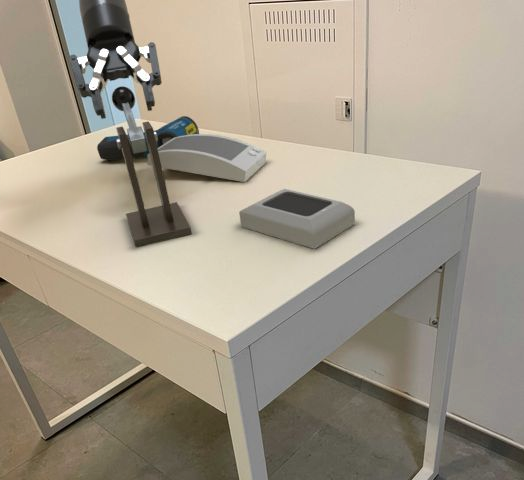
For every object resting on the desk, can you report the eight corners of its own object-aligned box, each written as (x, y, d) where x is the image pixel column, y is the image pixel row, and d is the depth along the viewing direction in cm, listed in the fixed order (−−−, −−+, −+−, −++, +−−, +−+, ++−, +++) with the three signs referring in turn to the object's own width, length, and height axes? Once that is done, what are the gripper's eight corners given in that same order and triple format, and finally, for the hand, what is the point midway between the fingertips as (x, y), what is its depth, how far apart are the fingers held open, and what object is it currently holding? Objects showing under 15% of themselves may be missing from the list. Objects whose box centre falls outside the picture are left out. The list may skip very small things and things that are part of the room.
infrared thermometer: (130, 149, 133) (203, 143, 126) (100, 168, 123) (178, 162, 116) (121, 122, 129) (197, 114, 122) (91, 139, 120) (170, 132, 112)
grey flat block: (279, 183, 90) (354, 200, 81) (281, 205, 92) (354, 224, 83) (238, 204, 85) (313, 224, 76) (241, 226, 87) (314, 249, 78)
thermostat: (247, 183, 103) (243, 152, 99) (151, 179, 110) (144, 150, 107) (267, 163, 111) (264, 134, 107) (177, 160, 118) (171, 133, 115)
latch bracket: (127, 219, 94) (101, 124, 85) (178, 208, 96) (157, 113, 87) (135, 247, 85) (107, 143, 76) (191, 233, 87) (170, 130, 77)
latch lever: (112, 104, 89) (107, 83, 86) (134, 100, 90) (130, 79, 86) (129, 158, 83) (124, 138, 80) (152, 153, 84) (149, 133, 80)
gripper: (54, 8, 84) (74, 105, 82) (146, -6, 86) (169, 89, 84) (67, 43, 92) (86, 133, 89) (152, 30, 93) (173, 117, 91)
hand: (126, 111), depth 87 cm, fingers open, 7 cm apart
